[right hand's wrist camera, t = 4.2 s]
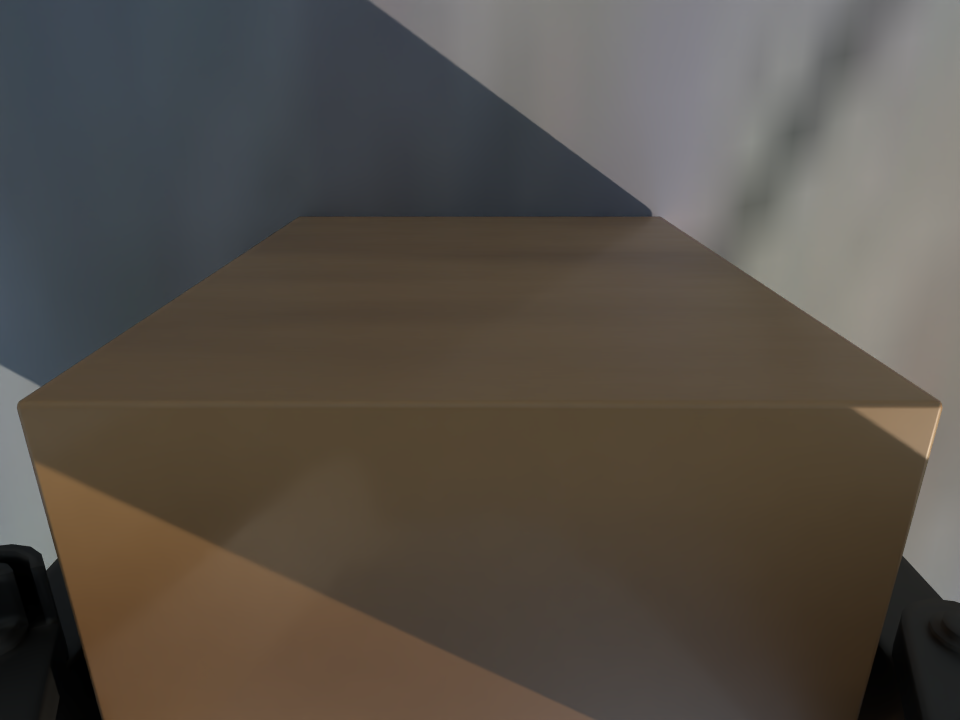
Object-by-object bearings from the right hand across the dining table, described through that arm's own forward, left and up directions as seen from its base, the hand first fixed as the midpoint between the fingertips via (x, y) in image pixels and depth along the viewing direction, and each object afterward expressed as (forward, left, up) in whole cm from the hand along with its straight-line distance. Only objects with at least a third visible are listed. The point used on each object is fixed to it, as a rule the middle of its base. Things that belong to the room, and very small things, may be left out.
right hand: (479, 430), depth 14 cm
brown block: (0, 0, -2) cm, 2 cm away
